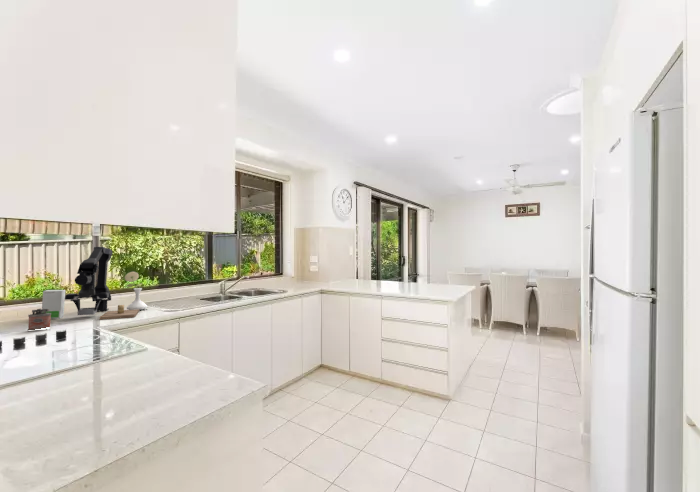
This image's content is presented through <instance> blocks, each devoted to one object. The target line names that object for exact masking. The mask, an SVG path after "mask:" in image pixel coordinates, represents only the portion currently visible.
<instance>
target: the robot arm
mask: <svg viewBox="0 0 700 492" xmlns="http://www.w3.org/2000/svg"><path fill="white" fill-rule="evenodd" d="M113 253H114V252H113V249H111V248H108V247H105V246H94V247H93V251H92V252H91V254H90V255H89V257H88V258H86V259H84V260H83V261H82V262H81V263H80V264H79V266H78V269H77V272H76V274H77V276H75V278H74V283H75V284H76V285H78V286H81V287H80V290H79V291H78V293H76V292H75V293H66V294H65V301H68V300H69V301H70V302H72V303H74V305H75V307H76V309H77V311H78V310H79V309H81V299H90V298H91V299H92V302H95V305H94V307H95V311H96V310H97V312H107V311H109V308H108V302H109V301H112V296H111V295H112V294H111V291H110V288H109V287H108V285H107V280H108V278H107V277H108V266H109V265H108V263H109V261H110V260H111V259H112V256H113ZM96 274H97V280H96ZM96 281H97V283H96ZM95 283H96V285H95Z"/></svg>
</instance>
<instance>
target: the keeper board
mask: <svg viewBox="0 0 700 492" xmlns="http://www.w3.org/2000/svg"><path fill="white" fill-rule="evenodd" d="M139 313H140V310H139V309H138V310H129V309H126V310H125V304H118V305H117V310H107V311H105V313H103V314H102V315H100V316H99V319H98V320H99V321H101V320H114V319H115V320H116V319H117V320H119V319H130V318H132V319H133V318H135V317H136V316H137V315H139Z"/></svg>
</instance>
